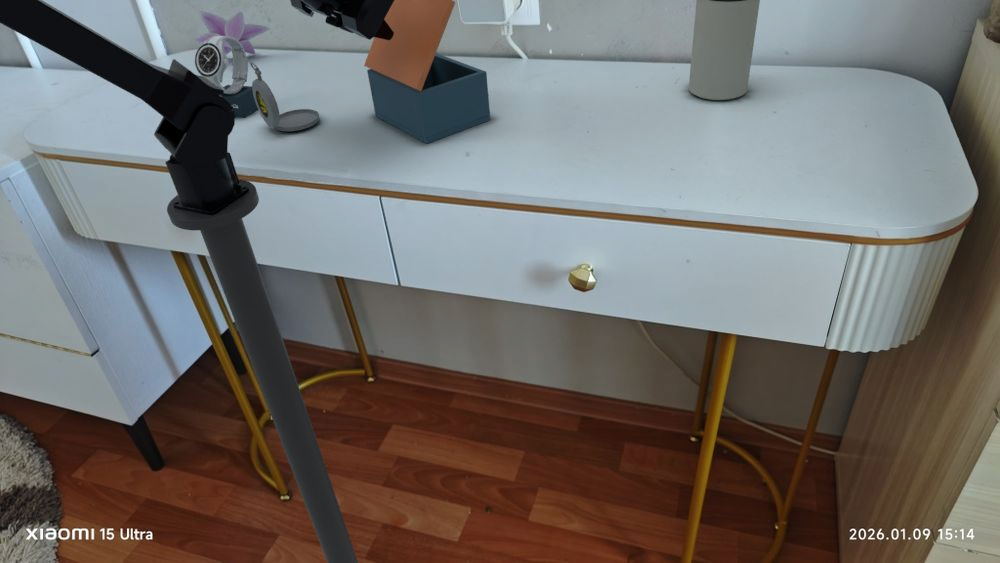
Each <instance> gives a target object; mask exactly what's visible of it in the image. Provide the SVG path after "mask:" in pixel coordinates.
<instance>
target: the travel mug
mask: <svg viewBox="0 0 1000 563" xmlns="http://www.w3.org/2000/svg"><path fill="white" fill-rule="evenodd" d="M695 1H696V3H695V13H694V24H693V35H692V37H693V38H692V44H691V45H692V47H691V58H690V67H689V68H690V70H689V81H688V91H689V92H690V93H691V94H692V95H694V96H696V97H698V98H700V99H703V100H709V101H726V100H727V101H729V100H734V99H737V98H739V97H741V96H744V95H745V94H746V93H747V92H748V86H749V81H750V72H751V66H752V59H753V58H752V57H753V51H754V44H755V39H756V32H757V31H756V30H757V23H758V16H759V10H760V3H761V2H760V1H761V0H695Z"/></svg>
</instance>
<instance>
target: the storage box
mask: <svg viewBox="0 0 1000 563" xmlns="http://www.w3.org/2000/svg"><path fill="white" fill-rule="evenodd" d="M366 72H367V78H368V82H369V88H370V93H371V98H372V99H371V100H372V104H373V109H374V115H375V117H376V118H378V119H380V120H381V121H384V122H386V123H387V124H389V125H390V126H393V127H394V128H397V129H399V130H400V131H401V132H404V133H406V134H408V135H410V136H411V137H413V138H416V139H417V140H418V141H421V142H422V143H424V144H429V143H432V142H433V143H434V142H435V141H438V140H440V139H443V138H446V137H449V136H452V135H454V134H457V133H459V132H463V131H464V130H467V129H470V128H472V127H475V126H478V125H480V124H483V123H486V122H489V121H491V111H490V97H489V88H488V87H489V85H488V74H487V71H486V70H483V69H480V68H478V67H474V66H473V65H469V64H467V63H465V62H461V61H458V60H456V59H453V58H450V57H448V56H445V55H442V54H440V53H437V52H436V54H435V57H434V59H433V62H432V64H431V67H430V70H429V72H428V75H427V77H426V80H425V82H424V85H423V88H422V90H421V91H419V90H417V89H415V88H412V87H410V86H408V85H406V84H404V83H401V82H399V81H397V80H395V79H392V78H390V77H388V76H386V75H384V74H381V73H379V72H377V71H375V70H372V69H370V68H368V69H367V70H366Z"/></svg>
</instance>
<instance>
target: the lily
mask: <svg viewBox="0 0 1000 563" xmlns="http://www.w3.org/2000/svg"><path fill="white" fill-rule="evenodd" d="M198 15H199V18H200V20H201V21H202V23H203V25H204V26H205V28H206V30H207V31H208V32H206V33H203V34H202V35H199V36H197V37H196V38H194V39H193V41H192V42H193V43H195V44H196V43H197V44H203V43H204V42H205V40H206V41H207V39H209V38H210V37H212V36H231V37H234V38H236V39H237V40H238V41H239V42H240V43H241V44H242V46H243V48H244V50H245V53H247V54H249V55H252V56H256V51H255V48H254V46H253V45H252V43H251V42H250V41H251V40H252V39H254V38H256V37H258V36H261V35H262V34H264V33H267V32H268V31H270V30H271V29H270V27H269V26H265V25H263V24H262V25H261V24H257V23H245V16H244V13H243V12H242V11H239V12H237V13H235V14H234V15H232V16H231V17H230V18H228V19H226V18H224V17H223V16H220V15H217V14H215V13H211V12H207V11H199V12H198ZM223 42H224V49H225V53H226V56H227V55H228V54H229V53H232V58H233V57H234V55H233V50H232V48H231V46H230V45H229V43H227V42H226V41H225V40H223Z"/></svg>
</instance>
